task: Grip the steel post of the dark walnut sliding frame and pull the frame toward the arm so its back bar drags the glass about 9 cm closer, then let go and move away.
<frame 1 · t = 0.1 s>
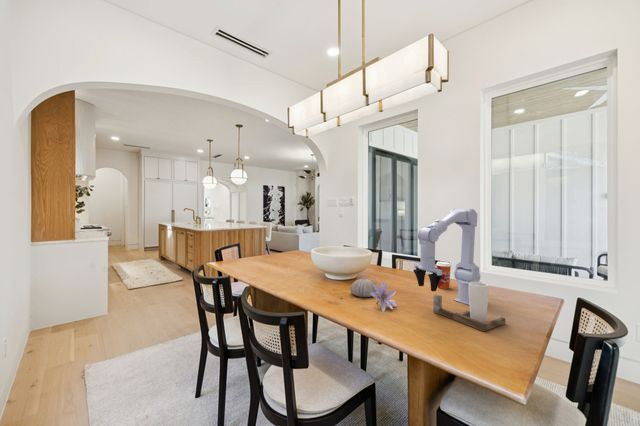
hand: (427, 288, 115), 10 cm above the table, tool pointing down, fingers open, 7 cm apart
sea urchin shell: (363, 295, 138), on the table
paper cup: (443, 288, 151), on the table
water lily: (384, 308, 120), on the table
sliding frame: (467, 308, 109), point 4 cm above the table, slide at 0.0 cm
drinking glass: (477, 323, 105), resting in sliding frame
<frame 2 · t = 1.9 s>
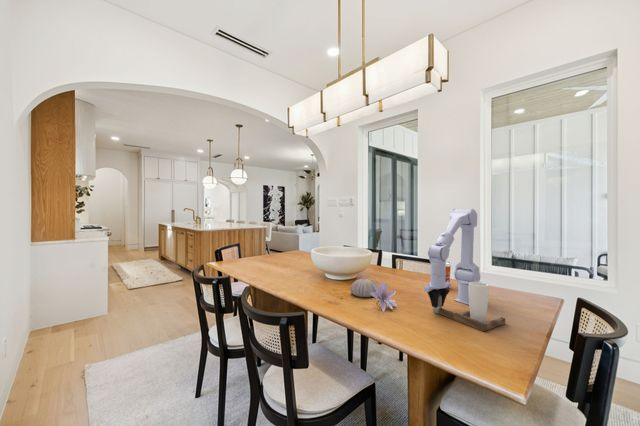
hand: (437, 306, 114), 3 cm above the table, tool pointing down, fingers closed on sliding frame, 3 cm apart
sliding frame: (467, 308, 109), point 4 cm above the table, slide at 0.0 cm, touching gripper
everything else where it was.
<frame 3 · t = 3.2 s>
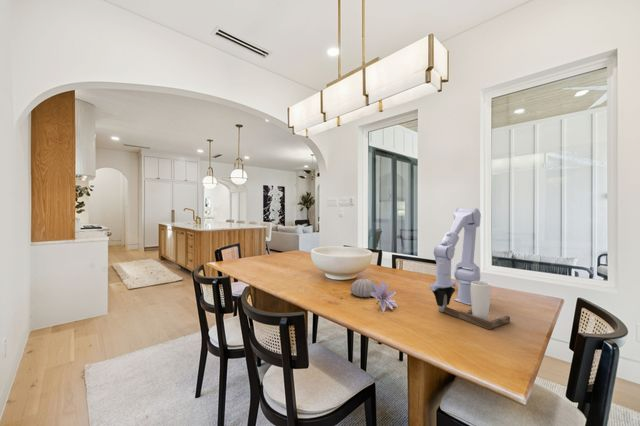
hand: (443, 304, 116), 3 cm above the table, tool pointing down, fingers open, 3 cm apart
sliding frame: (472, 307, 111), point 4 cm above the table, slide at 3.3 cm, touching gripper
drinking glass: (480, 322, 105), resting in sliding frame
everything else where it was.
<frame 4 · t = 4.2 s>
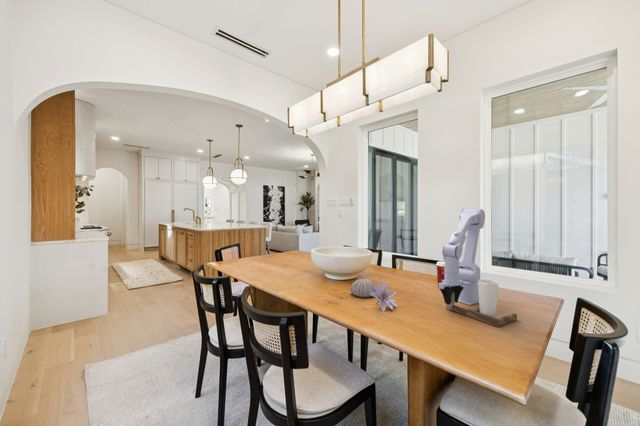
hand: (451, 302, 119), 3 cm above the table, tool pointing down, fingers open, 4 cm apart
sliding frame: (479, 305, 113), point 4 cm above the table, slide at 8.3 cm, touching drinking glass, gripper
drinking glass: (487, 319, 108), resting in sliding frame
everything else where it was.
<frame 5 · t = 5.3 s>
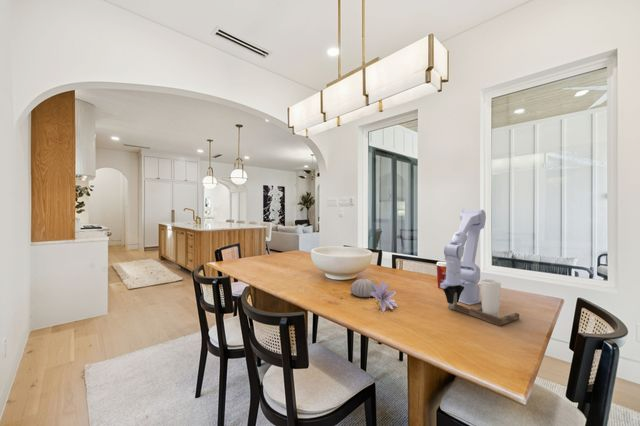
hand: (452, 302, 119), 3 cm above the table, tool pointing down, fingers closed on sliding frame, 3 cm apart
sliding frame: (481, 304, 114), point 4 cm above the table, slide at 10.0 cm, touching drinking glass, gripper
drinking glass: (489, 319, 109), resting in sliding frame
everything else where it was.
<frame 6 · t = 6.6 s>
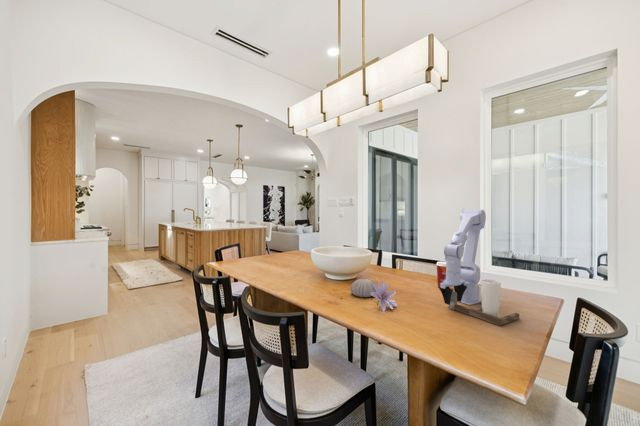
hand: (452, 302, 119), 3 cm above the table, tool pointing down, fingers open, 7 cm apart
sliding frame: (481, 304, 114), point 4 cm above the table, slide at 10.0 cm
drinking glass: (489, 319, 109), resting in sliding frame
everything else where it was.
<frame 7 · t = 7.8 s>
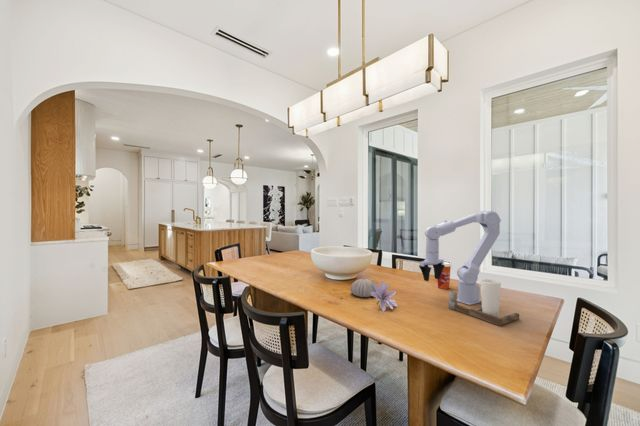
hand: (431, 279, 132), 9 cm above the table, tool pointing down, fingers open, 7 cm apart
nothing on the table moved.
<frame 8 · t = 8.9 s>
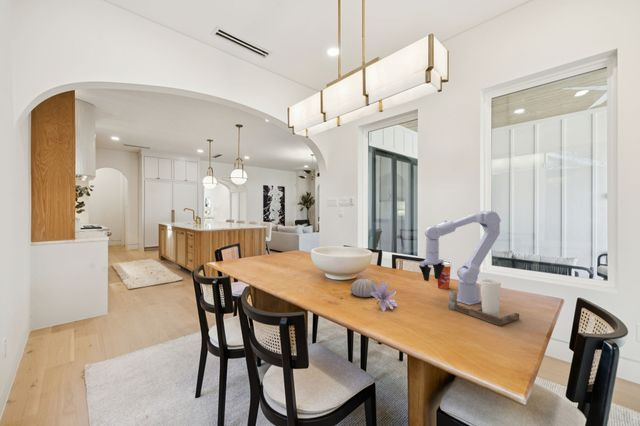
hand: (431, 279, 132), 9 cm above the table, tool pointing down, fingers open, 7 cm apart
nothing on the table moved.
at the end: drinking glass inside the target area (1.2 cm from its centre), resting in sliding frame; drinking glass tilted 0°; sliding frame slide at 10.0 cm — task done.
